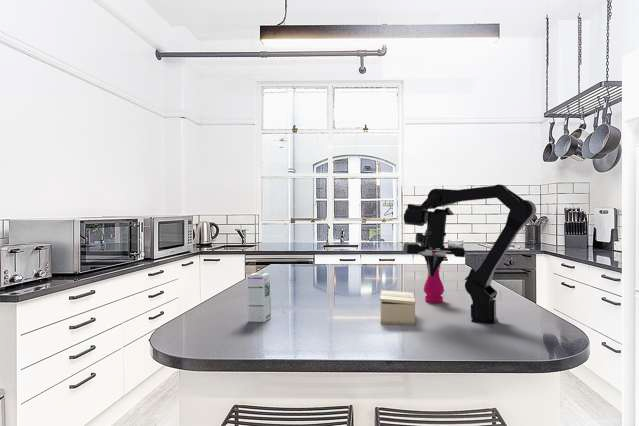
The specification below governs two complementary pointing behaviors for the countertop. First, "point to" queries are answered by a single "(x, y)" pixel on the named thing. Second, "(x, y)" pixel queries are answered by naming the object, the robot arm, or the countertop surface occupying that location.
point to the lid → (397, 297)
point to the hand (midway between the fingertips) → (431, 276)
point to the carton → (397, 313)
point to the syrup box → (258, 297)
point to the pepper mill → (434, 287)
